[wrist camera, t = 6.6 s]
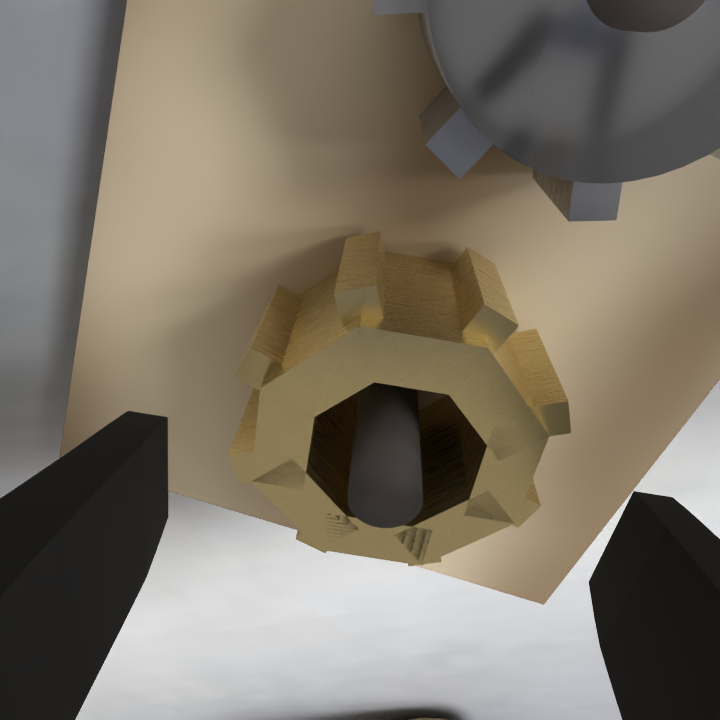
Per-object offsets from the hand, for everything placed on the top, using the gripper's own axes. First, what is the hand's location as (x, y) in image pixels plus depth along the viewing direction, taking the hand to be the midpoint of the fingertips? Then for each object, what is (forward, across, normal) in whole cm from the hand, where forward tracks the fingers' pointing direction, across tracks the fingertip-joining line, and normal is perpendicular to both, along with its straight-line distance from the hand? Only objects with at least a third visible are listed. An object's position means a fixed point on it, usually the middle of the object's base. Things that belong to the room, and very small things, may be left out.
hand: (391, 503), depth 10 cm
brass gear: (+4, 0, 0) cm, 4 cm away
